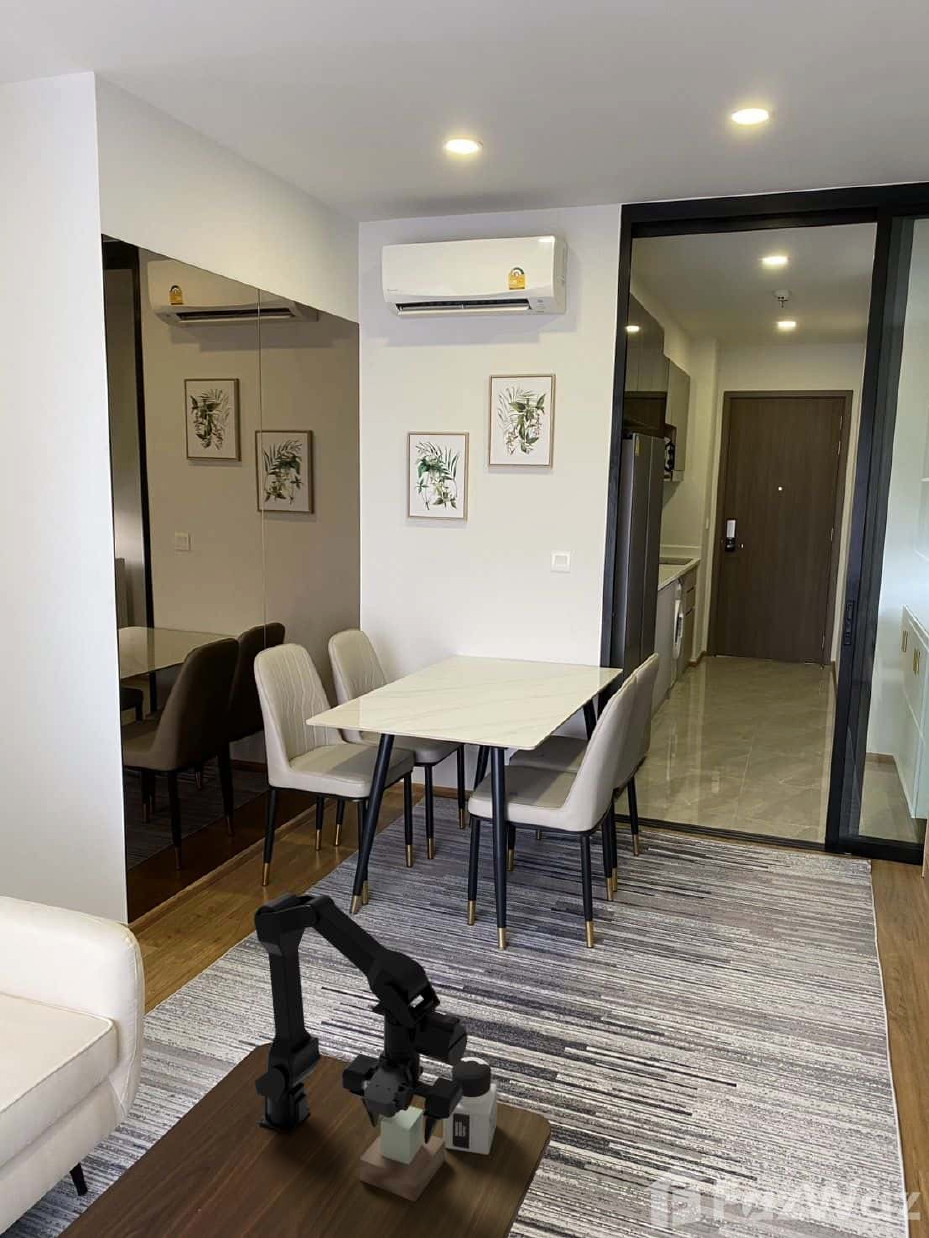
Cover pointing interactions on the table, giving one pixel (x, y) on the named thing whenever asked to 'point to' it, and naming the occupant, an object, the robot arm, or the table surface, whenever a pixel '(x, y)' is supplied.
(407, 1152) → the sage block
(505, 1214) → the table surface
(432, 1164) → the walnut box
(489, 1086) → the container
